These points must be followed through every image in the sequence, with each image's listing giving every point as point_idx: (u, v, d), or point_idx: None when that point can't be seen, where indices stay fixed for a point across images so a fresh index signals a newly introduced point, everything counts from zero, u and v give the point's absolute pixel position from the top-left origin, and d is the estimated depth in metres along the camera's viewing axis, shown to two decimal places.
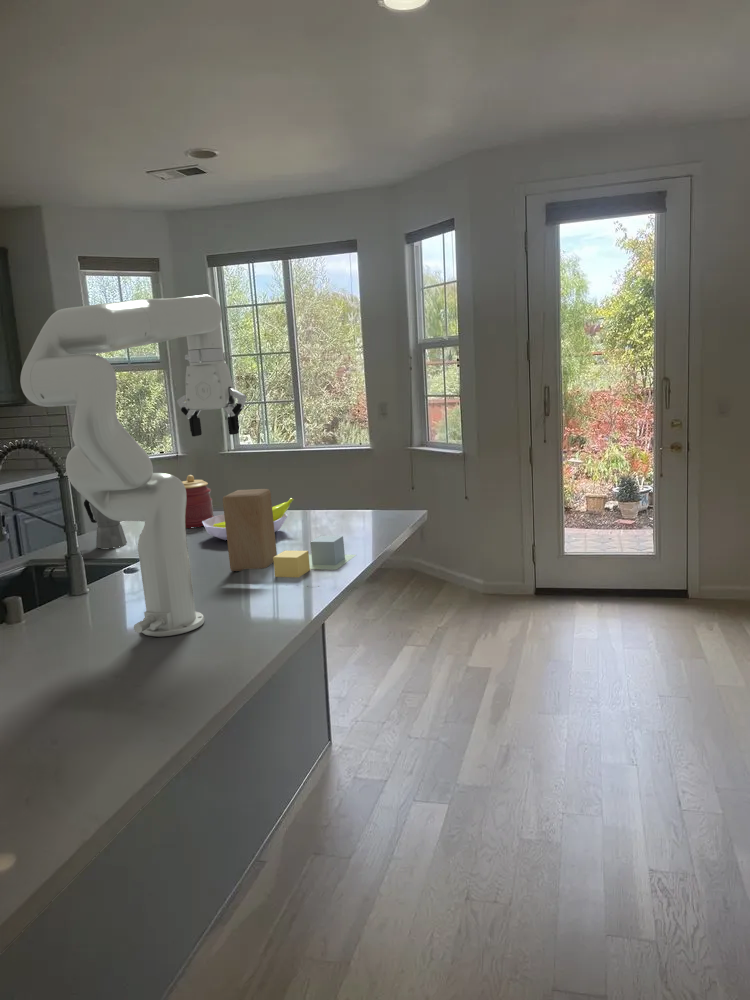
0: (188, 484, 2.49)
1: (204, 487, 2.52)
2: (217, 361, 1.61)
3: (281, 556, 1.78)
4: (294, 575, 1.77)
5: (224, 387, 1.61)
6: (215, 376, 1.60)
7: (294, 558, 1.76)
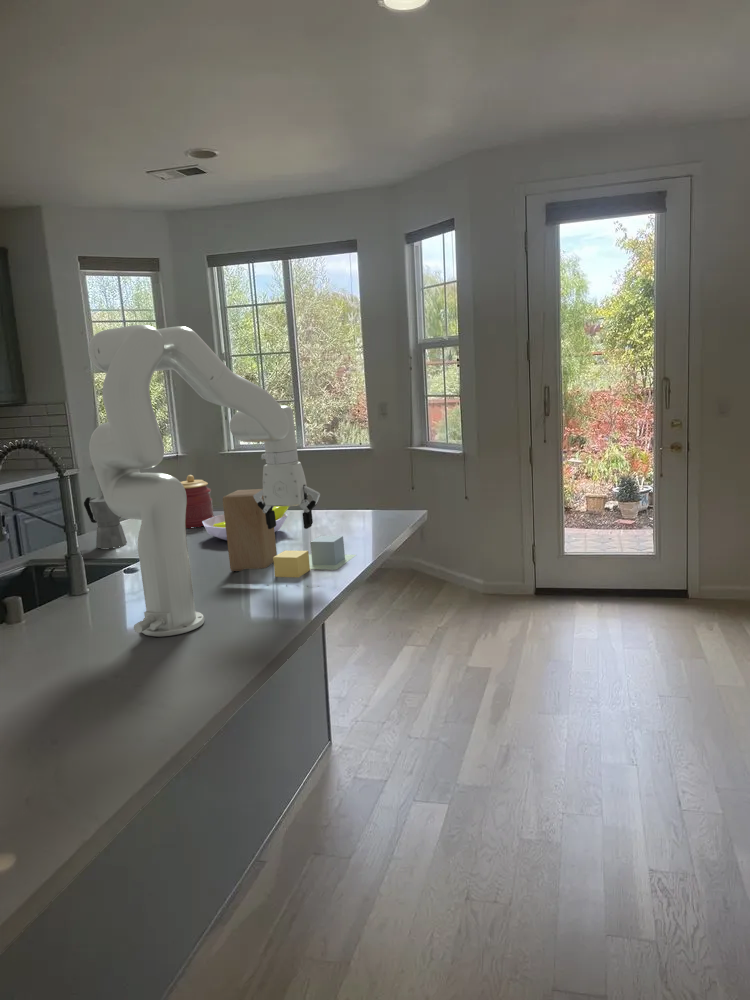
0: (188, 484, 2.49)
1: (204, 487, 2.52)
2: (293, 462, 1.73)
3: (281, 556, 1.78)
4: (294, 575, 1.77)
5: (300, 486, 1.73)
6: (291, 476, 1.73)
7: (294, 558, 1.76)
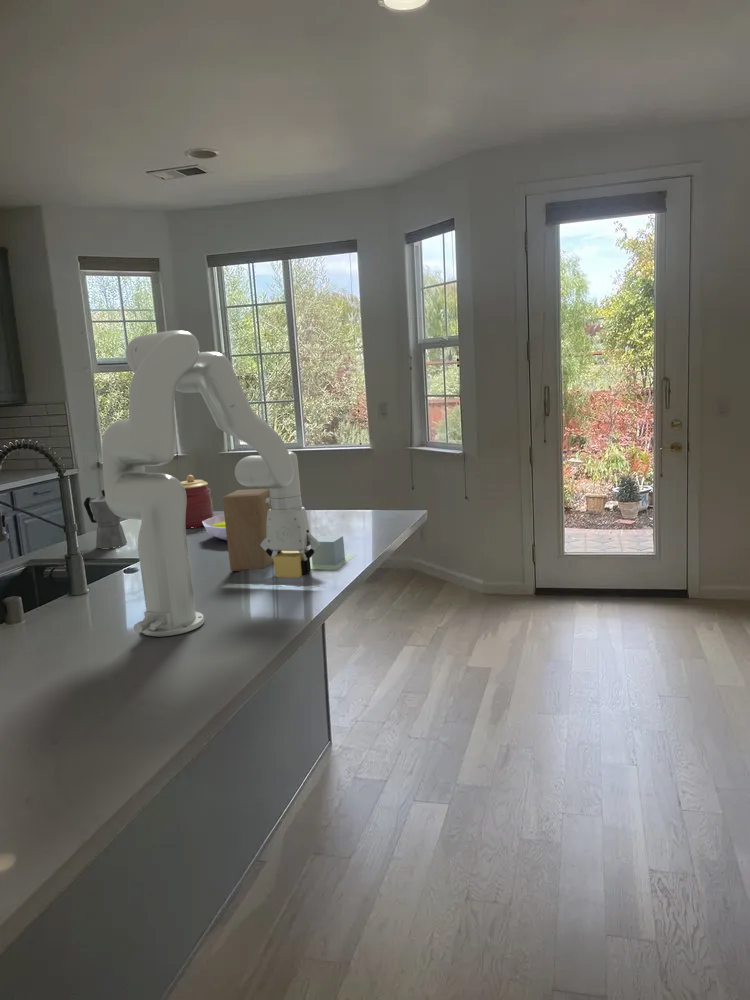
0: (188, 484, 2.49)
1: (204, 487, 2.52)
2: (297, 508, 1.75)
3: (281, 556, 1.78)
4: (294, 575, 1.77)
5: (303, 532, 1.75)
6: (295, 522, 1.74)
7: (294, 558, 1.76)
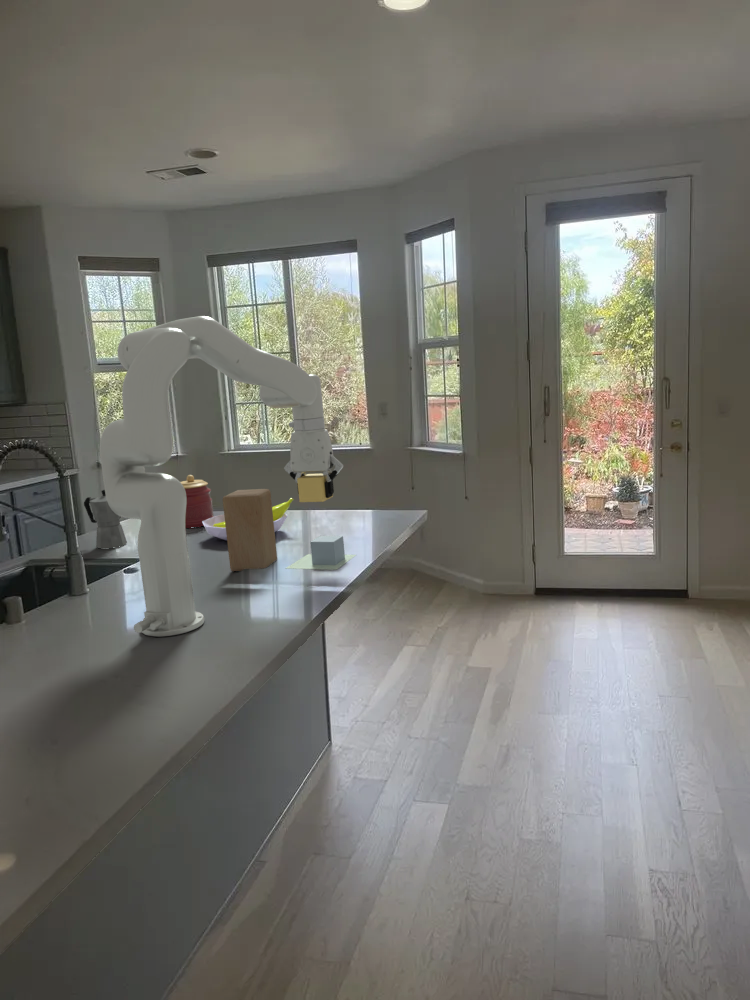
0: (188, 484, 2.49)
1: (204, 487, 2.52)
2: (320, 429, 1.79)
3: (305, 477, 1.81)
4: (318, 495, 1.80)
5: (327, 452, 1.79)
6: (318, 443, 1.78)
7: (318, 478, 1.79)
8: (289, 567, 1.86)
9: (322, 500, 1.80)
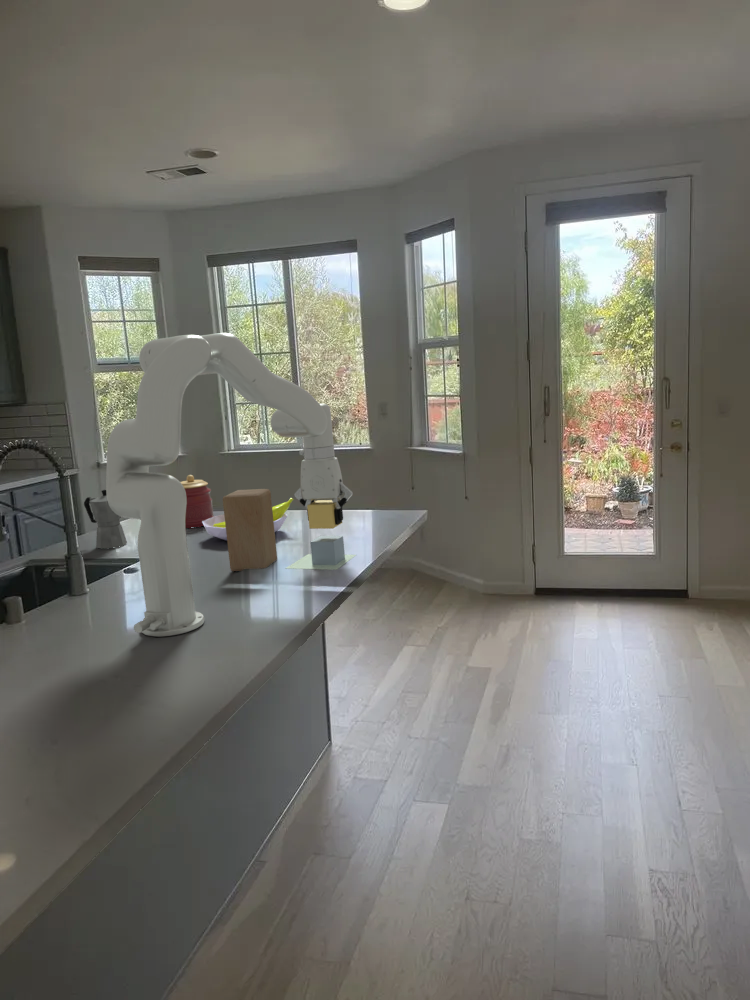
0: (188, 484, 2.49)
1: (204, 487, 2.52)
2: (330, 457, 1.82)
3: (315, 504, 1.84)
4: (328, 522, 1.83)
5: (336, 480, 1.82)
6: (328, 471, 1.81)
7: (328, 506, 1.82)
8: (289, 567, 1.86)
9: (332, 527, 1.83)
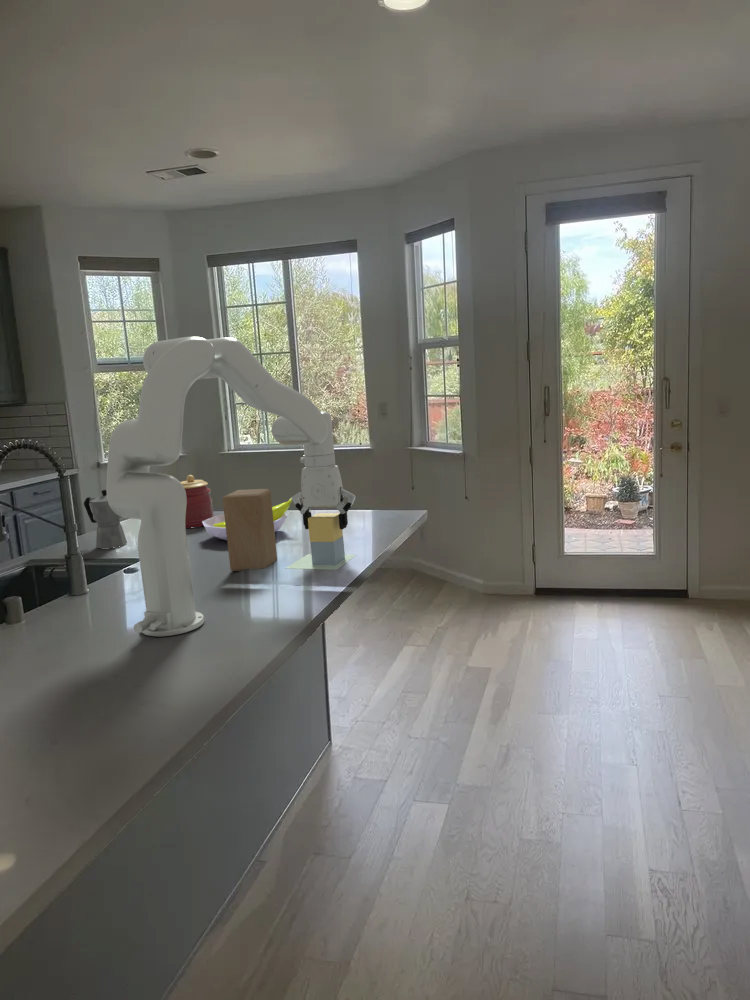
0: (188, 484, 2.49)
1: (204, 487, 2.52)
2: (331, 465, 1.82)
3: (315, 517, 1.85)
4: (328, 535, 1.84)
5: (337, 488, 1.82)
6: (329, 479, 1.81)
7: (328, 519, 1.83)
8: (289, 567, 1.86)
9: (332, 540, 1.84)
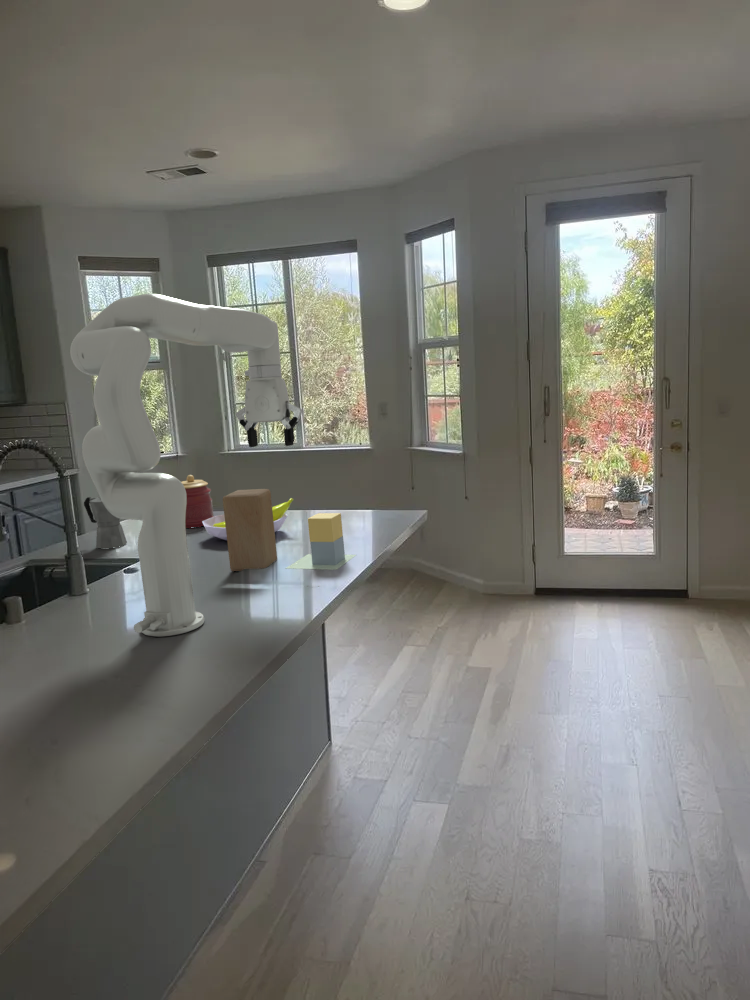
0: (188, 484, 2.49)
1: (204, 487, 2.52)
2: (276, 377, 1.72)
3: (315, 517, 1.85)
4: (328, 535, 1.84)
5: (282, 401, 1.72)
6: (273, 391, 1.71)
7: (328, 519, 1.83)
8: (289, 567, 1.86)
9: (332, 540, 1.84)
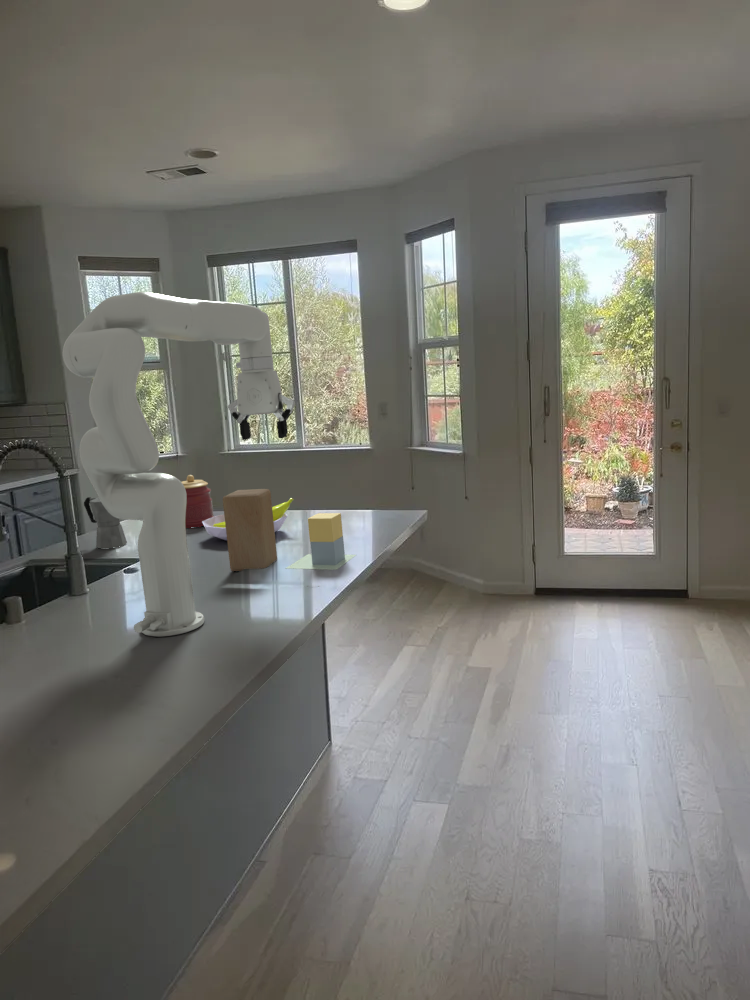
0: (188, 484, 2.49)
1: (204, 487, 2.52)
2: (268, 369, 1.71)
3: (315, 517, 1.85)
4: (328, 535, 1.84)
5: (274, 393, 1.70)
6: (266, 383, 1.70)
7: (328, 519, 1.83)
8: (289, 567, 1.86)
9: (332, 540, 1.84)
